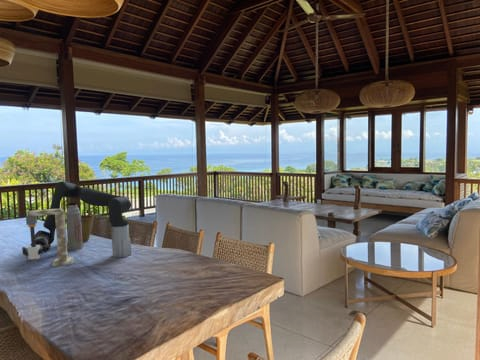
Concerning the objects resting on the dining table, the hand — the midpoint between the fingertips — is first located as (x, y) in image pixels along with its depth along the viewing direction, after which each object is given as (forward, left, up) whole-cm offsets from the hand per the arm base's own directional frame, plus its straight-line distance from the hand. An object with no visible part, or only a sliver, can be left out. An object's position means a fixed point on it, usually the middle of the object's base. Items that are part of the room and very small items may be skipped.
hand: (33, 253), depth 170 cm
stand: (-4, -8, -7) cm, 11 cm away
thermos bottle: (+8, -32, -8) cm, 34 cm away
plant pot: (+18, -46, -8) cm, 50 cm away
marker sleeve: (+2, -2, -3) cm, 4 cm away
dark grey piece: (+2, -2, -5) cm, 6 cm away
